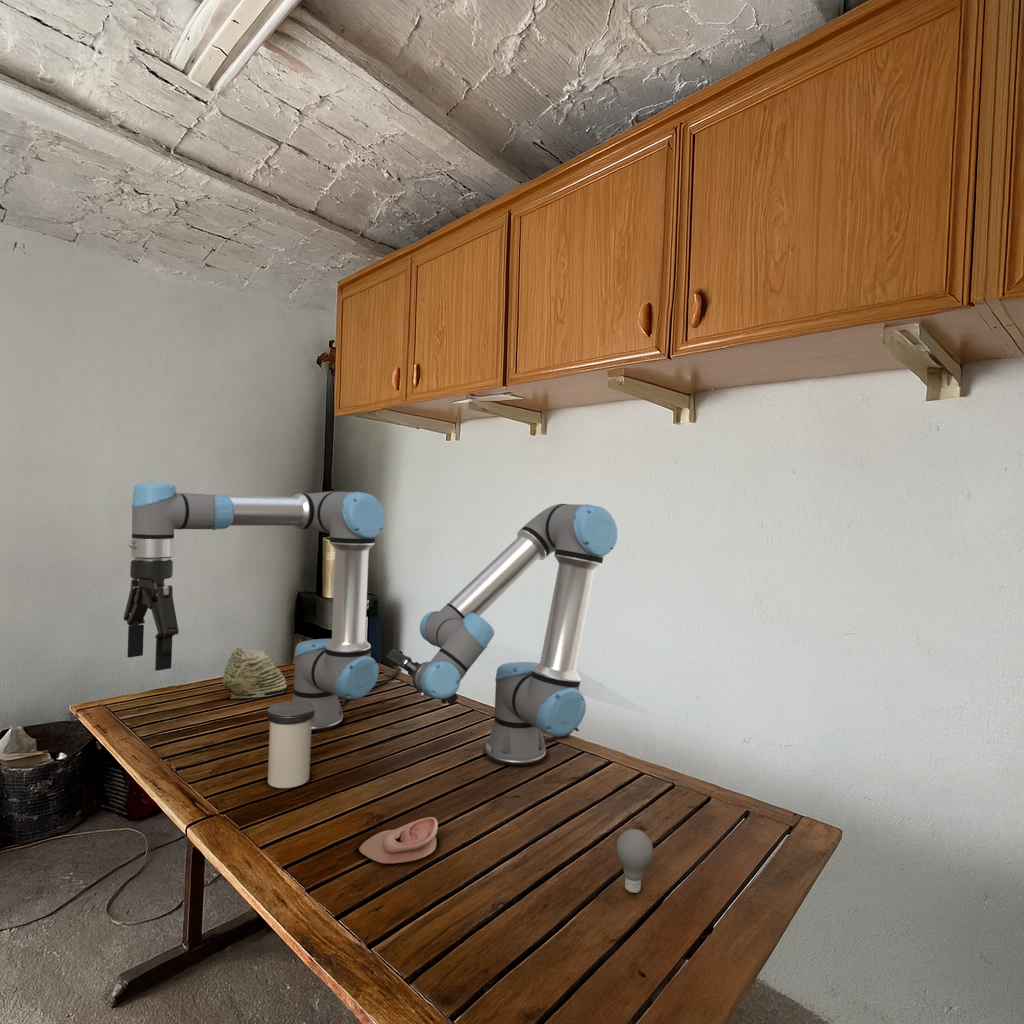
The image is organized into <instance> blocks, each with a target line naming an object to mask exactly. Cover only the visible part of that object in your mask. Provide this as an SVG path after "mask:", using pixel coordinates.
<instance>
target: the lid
mask: <svg viewBox="0 0 1024 1024" xmlns="http://www.w3.org/2000/svg"><path fill="white" fill-rule="evenodd" d="M266 714H267V716H266V717H267V718H266V719H267V720H268V721H269V723H270V722H273V723H277V724H296V723H302V722H305V721H308V720H310V719H312V718H313V717H314V714H315V708H314V705H313V704H311V703H309V702H304V701H292V700H288V701H281V702H278V703H274V704H272V705H270V706H269V707H268V708H267V713H266Z"/></svg>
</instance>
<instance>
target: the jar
mask: <svg viewBox="0 0 1024 1024" xmlns="http://www.w3.org/2000/svg"><path fill="white" fill-rule="evenodd" d="M268 727H269V730H268V755H267V757H268V758H267V759H268V760H267V781H266V782H267V784H268V785H269V786H270V787H273V788H277V789H290V788H295V787H299V786H302V785H304V784H306V783H307V782H308V781H309V780H310V777H311V752H312V732H311V728H312V719H310V720H308V721H305V722H302V723H296V724H277V723H273V722H270V721H269V726H268Z"/></svg>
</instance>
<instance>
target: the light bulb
mask: <svg viewBox="0 0 1024 1024" xmlns="http://www.w3.org/2000/svg"><path fill="white" fill-rule="evenodd" d="M615 849H616V854H617V857H618V859H619V861H620V863H621V865H622V867H623V873H624V874H623V875H624V876H625V878H624V888H625V890H627V891H628V892H630V893H634V894H635V893H639V892H640V891H641V889H642V887H641V886H642V879H643V877H644V875H645V871H646V868H647V867H648V866H649V864H650V863H651V861H652V859H653V855H654V847H653V843H652V841H651V838H649V836H648V835H647V834H646V833H645V832H643V831H642V830H641V829H636V828H629V829H627V830H625V831H623V832H622V833H621V834H620V835H619V837H618V839H617V841H616V847H615Z"/></svg>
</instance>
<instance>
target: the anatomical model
mask: <svg viewBox="0 0 1024 1024" xmlns="http://www.w3.org/2000/svg"><path fill="white" fill-rule="evenodd" d="M438 830H439V822H438V819H437V818H436V817H434V816H428V817H423V818H419V819H417V820H414V821H410V822H409V823H407V824H404V825H401V826H398V827H397V828H395V829H388V830H383V831H381V832H378V833H376V834H374V835H372V836H371V837H369V838H368V839H366V840H365V841H364V842H363V843H362V844H361V845H360V846H359V848H358V850H359V852H360V853H361V854H362V855H364V857H366V858H368V859H369V860H372V861H374V862H377V863H380V864H399V863H400V864H401V863H409V862H413V861H417V860H420V859H422V858H426V857H427V856H429V855H431V854H432V853H433V852H435V850H436V847H437V837H436V836H437V834H438Z"/></svg>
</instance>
